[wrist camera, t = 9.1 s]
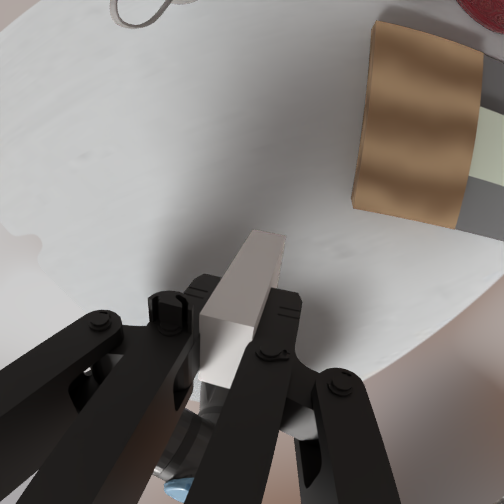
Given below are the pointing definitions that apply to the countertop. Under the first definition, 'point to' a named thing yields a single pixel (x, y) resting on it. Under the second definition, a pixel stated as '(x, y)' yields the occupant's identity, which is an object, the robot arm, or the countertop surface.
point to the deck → (417, 125)
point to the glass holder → (123, 24)
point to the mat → (477, 190)
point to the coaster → (489, 148)
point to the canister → (486, 13)
